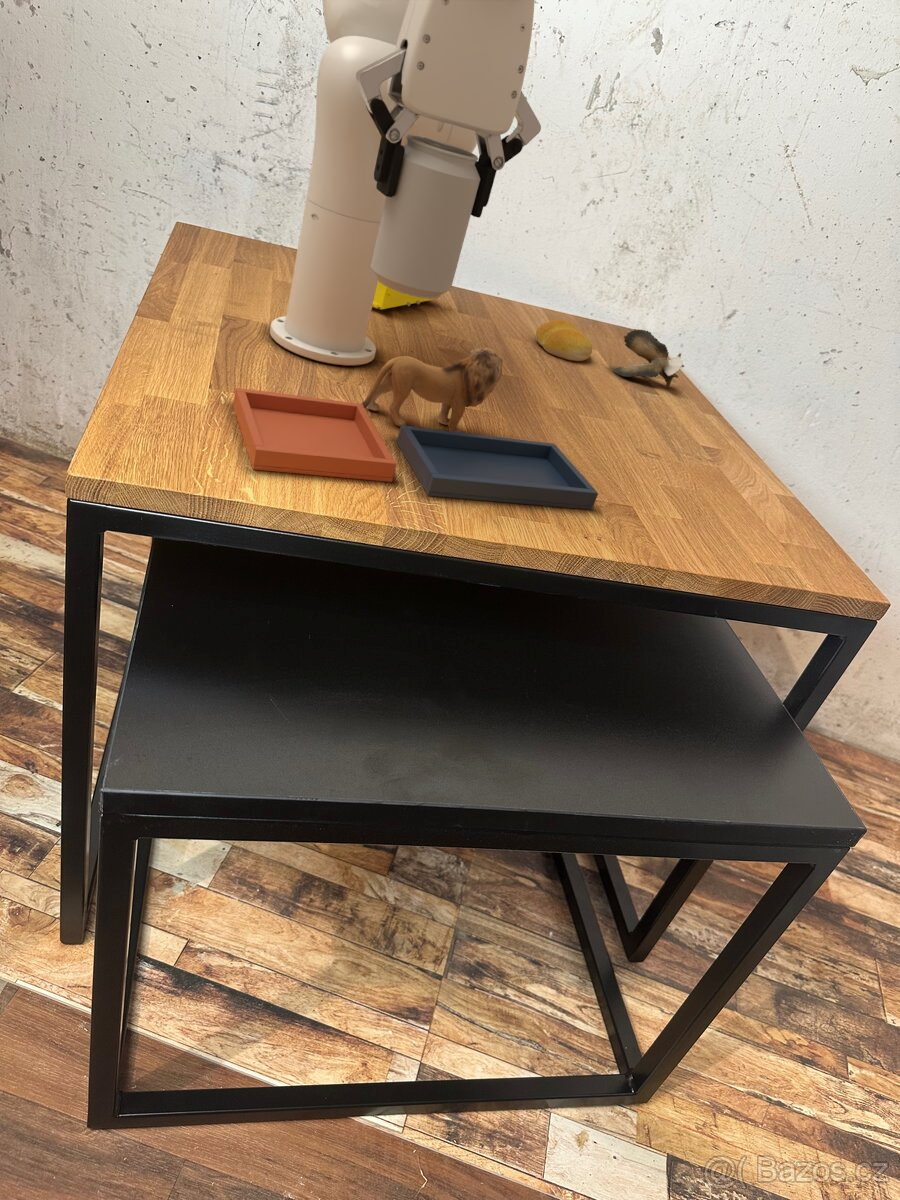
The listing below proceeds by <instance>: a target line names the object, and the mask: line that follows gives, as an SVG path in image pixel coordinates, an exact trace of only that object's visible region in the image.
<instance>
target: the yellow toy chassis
mask: <svg viewBox="0 0 900 1200" xmlns="http://www.w3.org/2000/svg"><path fill="white" fill-rule="evenodd" d="M437 299H439V297H438V298H433V299H428V298H420V297H415V296H411V295H407V294H404V293H401V292H398V291H395V290H393V289H391V288H389V287H387V286H385V285H383V284H382V283H380V282H379V281H378V284H377V288H376V292H375V297H374V301H373V306H372V309H373V308H374V309H376V310H382V311H383V310H387V309H390V308H396V307H401V306H407V307H410V306H411V305H412V304H416V305H417V306H418V305H420V304H421V303H424V302H427V301H434V300H437Z"/></svg>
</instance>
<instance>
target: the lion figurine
mask: <svg viewBox="0 0 900 1200" xmlns="http://www.w3.org/2000/svg"><path fill="white" fill-rule="evenodd" d="M503 361H504V357H502V356H500V353H498V352H497V351H495V350H494V349H492V348H490V347H486V346H483V347H481V348H480V347H479V348H476V349H472V350H471V351H470V355H469V356H466V357H465V358H462V359H460V360H459V361H457V362H455V363H453V364H452V363H451V365H449V366H445V367H441V366H435V365H431V364H428V363H425V362H423V361H421V360H420V359H417V358H416V357H413V356H409V355H401V356H396V357H393V358H391V359H389V360H388V361H387V362H386V363H385V364H384V365H383V366H382V367H381V368H380V370H379V372H378V373H377V376H376V377H375V379H374V381H373V383H372V385H371V387H370V390H369V392H368V394H367V396H366V398H365V399H364V401H362V402H361V403H360V404H363V406H364V408H365V409H366V408H367V409H369V410H371V411H375V412H376V411H379V410H380V405H379V404H378V403H377V402H376V400H377V399H378V398H379V397H380V396H382V395H385V394H387V393H389V392H392V401H391V403H390V405H389V408H388V409H389V411H390V415H391V418H392V420H393V423H394V425H395V426H397V427H399V428H400V427H401V425H404V426H407V421H406V419H405V418H402V417H401V415H400V409H401V407H402V405H403V404H404V403H405V401H406V400H407V399H408V397H409V396H410V394H411V391H413V392H414V393H415V394H416V395H417V396H418V397H419V398H421V399H423V400H425V401H427V402H431V403H435V404H441V408H440V411H439V414H438V419H437V420H438V422H439V424H441V425H445V426H447V427H448V431H454V432H461V430H460V429H458V425H459V423H460V422H461V420H462V418H463V415H464V413H465V410H466V408H470V407H473V408H474V407H477V406H478V405H481V404H482V403H483V402H484V401H485V400H486V398H487V397H488V396H489V395H490V394H491V393H492V392H493V391H494V390H495V387H496V385H497V383H499V381H500V379H501V377H502V375H503V370H502V369H503V368H502V365H503ZM450 411H451V413H450ZM449 414H450V418H449Z"/></svg>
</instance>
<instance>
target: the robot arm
mask: <svg viewBox="0 0 900 1200" xmlns="http://www.w3.org/2000/svg"><path fill="white" fill-rule="evenodd" d="M321 1H322V11H323V20H324V25H325V31H326V35H327V38H328V41H329V43H330V44H329V45H328V46H327V47H326V49H325V50H324V51H323V54H322V56H321V58H320V62H319V66H318V70H317V79H316V97H315V98H316V101H315V102H316V103H315V105H316V106H315V129H314V130H315V131H314V142H313V150H312V151H313V152H312V159H311V167H310V173H309V180H308V185H307V191H306V196H305V203H304V208H303V209H304V210H303V215H302V221H301V227H300V232H299V238H298V243H297V250H296V256H295V261H294V268H293V272H292V273H293V274H292V279H291V284H290V291H289V295H288V301H287V308H286V314H285V315H283V316H279V317H277V318H275V319H273V320H272V321H271V323H270V328H269V335H270V336H271V338H272V339H273V340H274V341H275V343H277V344H278V345H280V346H281V347H283V348H284V349H285V350H288V351H290V352H291V353H294V354H296V355H299V356H302V357H304V358H307V359H310V360H314V361H317V362H321V363H325V364H331V365H338V366H362V365H366V364H368V363H370V362H372V361H373V360H374V359H375V357H376V351H377V347H376V345H375V343H374V342H373V341H372V340H371V339H370V338H369V337H368V336H367V331H368V327H369V323H370V319H371V314H372V311H373V310H372V309H373V308H372V306H373V301H374V297H375V292H376V288H377V284H378V279H377V276H376V274H375V273H374V271H373V270H372V268H371V263H372V258H373V254H374V249H375V245H376V240H377V235H378V231H379V226H380V222H381V217H382V212H383V208H384V203H385V199H386V196H387V197H391V198H392V197H393V196H395V193H396V189H397V184H398V180H399V175H400V170H401V166H402V161H403V157H404V152H405V148H404V145H406V144H407V141H408V140H407V138H406V137H407V135H416V136H421V137H426V138H429V139H433V140H436V141H440V142H443V143H446V144H449V145H452V146H455V147H458V148H461V149H463V150H466V151H468V152H470V153H473V152H474V151H475V149H476V147H477V150H478V154H479V156H478V160H477V161H476V162H475V167H476V169H477V172H478V174H479V177H480V182H479V186H478V190H477V194H476V197H475V201H474V205H473V208H472V212H471V216H472V217H475V218H479V219H480V218H481V217H482V214H483V210H484V208H485V207H487V205H488V204H489V200H490V197H491V193H492V190H493V186H494V182H495V178H496V175H497V171H501V170H503V168H504V166H505V164H506V163H507V162H509V161H511V160H512V159H513V158H514V157H516V156H517V155H518V154H520V153H521V152H522V150H523V149H524V147H525V146H527V145H528V144H529V143H531V142H532V141H533V140H534V138H535V137H536V136H537V135H539V134H540V132H541V131H542V124H541V123H540V121H539V119H538V118H537V116H536V114H535V112H534V111H533V108H532V107H531V105H530V103H529V101H528V100H527V97H526V96H525V95H524V93H523V91H522V90H523V86H524V81H525V76H526V70H527V65H528V59H529V54H530V48H531V41H532V35H533V26H534V17H535V15H534V14H535V3H536V2H535V1H536V0H321ZM514 119H515V120H516V123H517V125H516V127H515V128H514V129H513V130H512V132H511V133H510V134H508V135H506V136H504V137H503V138H502V137H501V135H504V134H506V133H507V132H509V130H510V129H511V128H512V125H513V122H514Z"/></svg>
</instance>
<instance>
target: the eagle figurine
mask: <svg viewBox="0 0 900 1200" xmlns="http://www.w3.org/2000/svg"><path fill="white" fill-rule="evenodd" d="M623 338H624V339H623V341H624V343H625V344H624V346H625V347H626V348H628V349H629V351H631V352H633V353H635V354H636V355H637V356H638V357H641V358H643V359H645V360H646V361H647V362H648V363H647V362H646V363H644V362H643V363H630V364H628V365H626V366H618V367H615V368H613V369H612V372H613V373H614V374H617V375H618V376H621V377H627V378H632V377H633V378H634V377H639V376H641V377H648V378H656V377H658V376H659V375H660V376H661V377H662V378H663V379H664V381H665V387H667V389H669V388H670V387H671V383H672V380H673V379H674V378H676V379H678V378H679V375H678V374H677V373H678V372H679V371H680V370H681V369H682V368H684V367H685V364H683V362H684V361H683V359H682V353H681V352H680V353H678V355H677V356H675V357H672V358H670V359H668V358H669V350H668V347H667V346H666V344H665V343H663V342H660V341H659V340H658V338H656V337H655V336H654V335H653V334H652V332H651V331H649V330H645V329H636V328H634V329H633V330H630V331H629V332H627V333H626V334H625V335H624V336H623Z"/></svg>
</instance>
